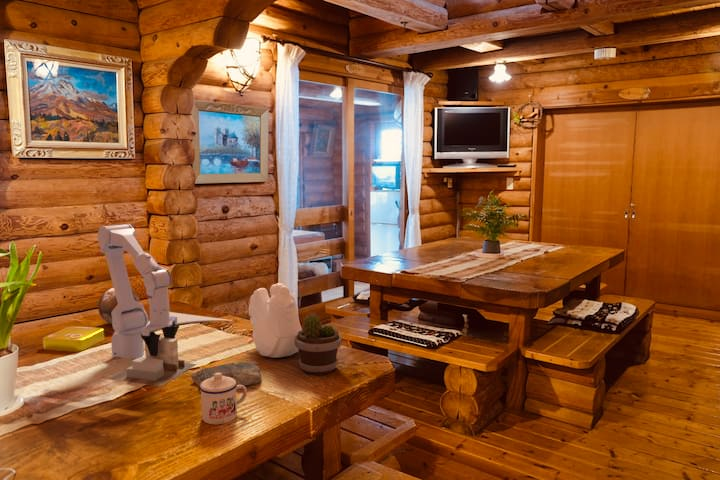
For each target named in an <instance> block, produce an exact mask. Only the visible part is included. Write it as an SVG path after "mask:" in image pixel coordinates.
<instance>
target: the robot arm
mask: <svg viewBox="0 0 720 480" xmlns="http://www.w3.org/2000/svg"><path fill="white" fill-rule="evenodd" d="M96 237H97V241H98V245H99V248H100V252H101V254H104V255H105V260H106V262H107V263H106V264H107V267H108V270H109V271H108V272H109V276H110V279H111V282H112V286H113V287H114V291H115V295H116V299H117V302H118V305H117V306H116V307H115V308H114V309H113V311H112V312H111V315H112V324H111V326H112V328H113V330H114V332H113V334H112V336H111V341H110V343H111V357H110V360H112V359H114V358H121V359H124V360H130V359H131V360H132V359H133V360H134V359H137V358H139V357H144V354H145V343H146V345H147V347H148V350H149V353H150V356H157V354H158V342H159V338H160V337H161V334H157V331H160V330H161V331H162V335H163V338H172V339H176V334H177V332H178V330H179V328H180V324H175V323H177V317H174V316H171V317H170V315H169V312H170V297H169V287H170V286H171V285H172V280H173V279H172V275H171V272H170V270H169V269H168V268H165V267H163V266H160V265H159V264H158V262H157V261H156V260H155V259H154V257H153V256H152V255H151V254H150V253H148V252H147V253H146V252H145V251H144V250H143V248H142V247H141V246H140V244H139V242H138V240H137V239H136V231H135V228H134V227H133V226H132V225H131V224H130V222H129V223H125V224H123V223H122V224H115V225H113V224H112V225H101V226H100V227H99V229H98V231H97V235H96ZM125 251H126V252H127V254H129V256H131V257H132V259H133V266H134V267H135V269H136V270H137V271H138V272H139V274H140V275H141V277H142V278H143V285H144V287H145V290H146V295H147V296H148V311H149V316H148V312H146V310H145V308H144V304H143V303H141V302H140V301H139V302H140V303H139V302H137V301H135V300H134V297H133V293H132V291H133V289H132V286H131V282H130V278H129V273H128V271H127V267H126V263H125V258H124V252H125ZM113 287H112V288H113ZM130 310H133V311H131V312H126V311H130ZM122 312H126V313H122ZM121 313H122V314H121ZM148 321H150V324H148V325H147V323H148Z"/></svg>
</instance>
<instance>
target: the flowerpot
mask: <svg viewBox="0 0 720 480" xmlns="http://www.w3.org/2000/svg"><path fill="white" fill-rule="evenodd" d="M310 311H311V312H308V313H306V315H305V316H304V318H303V323H301V326H302V328H304V329H302V331H299V332H298V335H297V336H296V337H295V340H294V343H295V346H296V347H297V348H298V351H297V352H298V355H299V360H298V363H299V367H300V369H301V370H303V372H304V373H306V374H310V375H313V376H321V375H326V374H327V375H328V374H330V373H332V372H333V371H335V368H336V367H337V365H338V356H337V355H338V350H339V348H340V347H341V345H342V344H343V338H342V336H341V334H340V333H339V331H338V330H336V329H334V325H332V324H331V323H326V324H323V321H321V317H319V315H317V311H315V312H314V311H313V310H310ZM322 324H323V325H322ZM330 324H331V325H330Z"/></svg>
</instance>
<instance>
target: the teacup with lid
mask: <svg viewBox="0 0 720 480" xmlns="http://www.w3.org/2000/svg"><path fill="white" fill-rule="evenodd" d="M239 389H242V390H243V394H242V396H241V398H240V399H238V400H237V390H239ZM199 390H200V399H201V400H200V403H201V405H200V406H201V419H202V421H203V422H204V423H206V424H207V425H208V424H209V425H224V424H228V423H230V422H232V421H234V420H235V419H236V418H237V416H238V412H237V410H238V408H237V407H238V405H240V404H242V403H243V402H244V401H245V400H246V398H247V395H248V389H247V387H246V386H243V385H237V383H236V381H235V380H234V379H233V378H231V377H225V376H222V373H215V374H214V377H211V378H209V379H206V380H205V381H203V382H202V383H201V385H200V386H199Z"/></svg>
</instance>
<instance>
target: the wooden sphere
mask: <svg viewBox="0 0 720 480" xmlns="http://www.w3.org/2000/svg"><path fill="white" fill-rule="evenodd" d="M132 293H133V297H134V300H135V301H137V302H139V303H141V302H140V299H139V296H138V295H137V294H136V292H135V291H134V290H132ZM117 305H118V302H117V299H116V295H115V291H114V287H111V288H109V289H107V290H105V292H104V293H102V295H101V296H100V298H99V300H98V304H97V307H98V308H97V309H98V313H99V315H100V317H101V318H102V320H104V322H106V323H108V324H110V325H112V315H111V312H112V311H113V309H114V308H115V307H116V306H117ZM131 311H133V310H130V311H126V312H131ZM126 312H122V313H126ZM122 313H121V314H122Z"/></svg>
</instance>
